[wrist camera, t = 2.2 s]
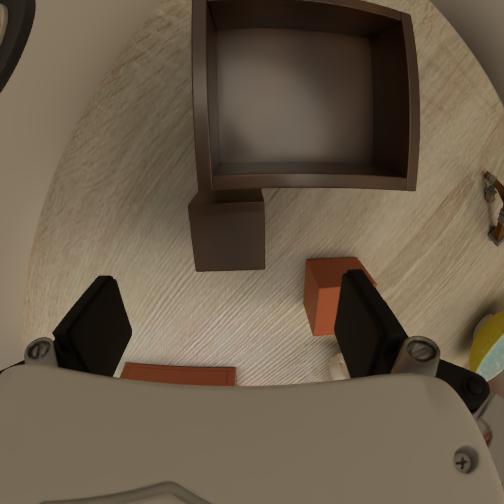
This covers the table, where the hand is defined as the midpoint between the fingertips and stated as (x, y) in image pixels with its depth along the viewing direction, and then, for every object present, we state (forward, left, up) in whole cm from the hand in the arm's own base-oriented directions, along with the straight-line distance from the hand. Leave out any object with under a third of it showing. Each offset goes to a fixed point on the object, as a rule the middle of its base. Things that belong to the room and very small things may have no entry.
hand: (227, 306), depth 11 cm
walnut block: (0, 0, -11) cm, 11 cm away
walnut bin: (+5, +9, -11) cm, 15 cm away
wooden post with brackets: (+26, +1, -11) cm, 28 cm away
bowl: (+34, -16, -11) cm, 39 cm away
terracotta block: (+8, -6, -11) cm, 14 cm away
